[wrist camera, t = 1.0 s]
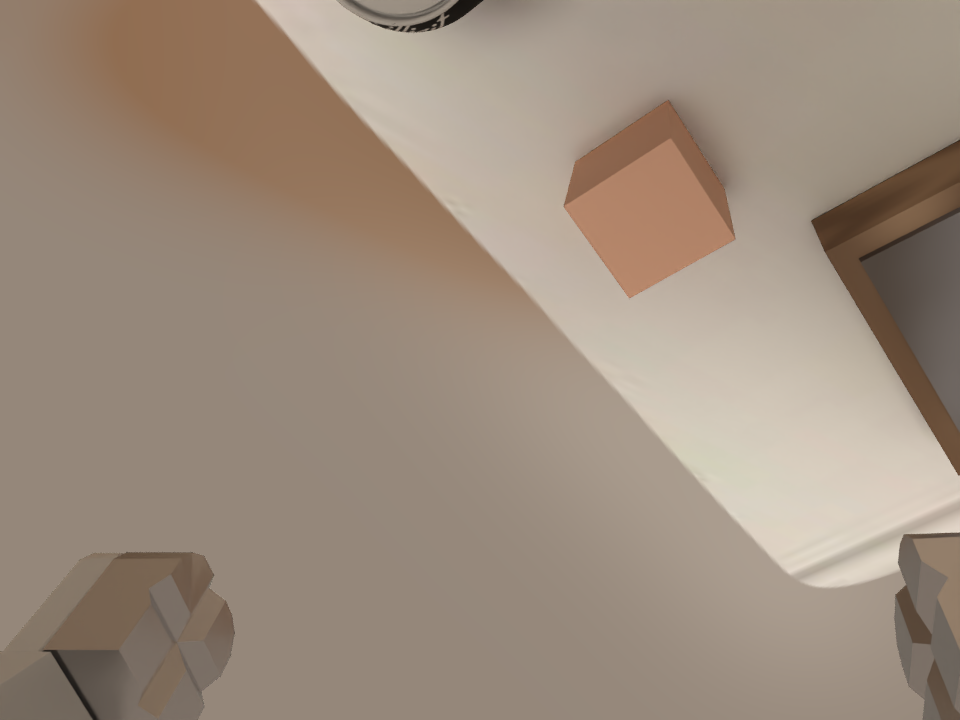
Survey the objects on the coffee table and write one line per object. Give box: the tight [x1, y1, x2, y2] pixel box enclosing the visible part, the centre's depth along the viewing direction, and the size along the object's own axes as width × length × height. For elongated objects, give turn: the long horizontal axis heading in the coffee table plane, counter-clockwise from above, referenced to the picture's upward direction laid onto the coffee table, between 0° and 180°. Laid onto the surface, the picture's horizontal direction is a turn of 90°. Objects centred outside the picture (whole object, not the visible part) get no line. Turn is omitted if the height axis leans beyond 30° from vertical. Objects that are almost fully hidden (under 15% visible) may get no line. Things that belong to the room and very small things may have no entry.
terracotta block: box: [564, 100, 735, 298], centre depth 36 cm, size 5×5×6 cm
